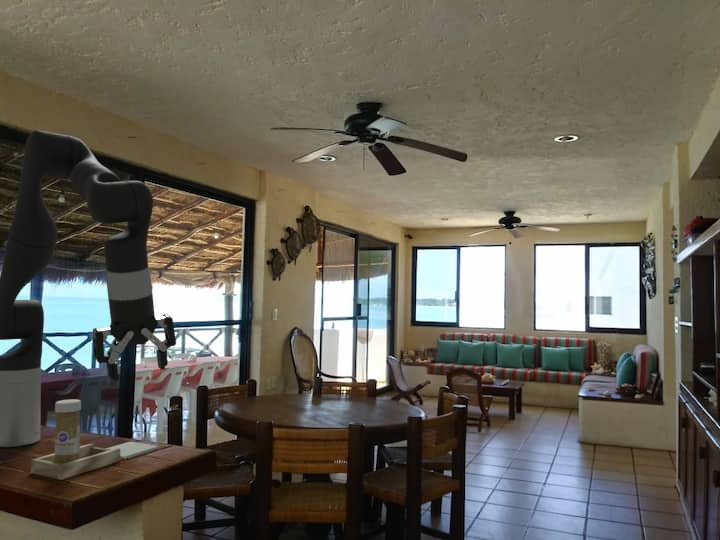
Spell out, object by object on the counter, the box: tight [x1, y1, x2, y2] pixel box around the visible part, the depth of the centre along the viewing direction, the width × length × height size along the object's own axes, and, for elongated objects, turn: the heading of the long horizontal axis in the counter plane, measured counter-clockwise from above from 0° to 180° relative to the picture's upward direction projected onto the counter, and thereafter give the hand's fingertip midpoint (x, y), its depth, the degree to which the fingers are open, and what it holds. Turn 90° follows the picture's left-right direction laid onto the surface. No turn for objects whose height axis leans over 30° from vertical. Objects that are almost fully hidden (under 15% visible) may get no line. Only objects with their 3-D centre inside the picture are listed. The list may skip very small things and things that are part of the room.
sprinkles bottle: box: [54, 398, 82, 464], centre depth 112 cm, size 5×5×14 cm
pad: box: [105, 441, 159, 460], centre depth 124 cm, size 9×9×1 cm
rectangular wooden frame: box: [30, 443, 121, 481], centre depth 114 cm, size 13×9×2 cm
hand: (138, 374), depth 108 cm, fingers open, 8 cm apart
